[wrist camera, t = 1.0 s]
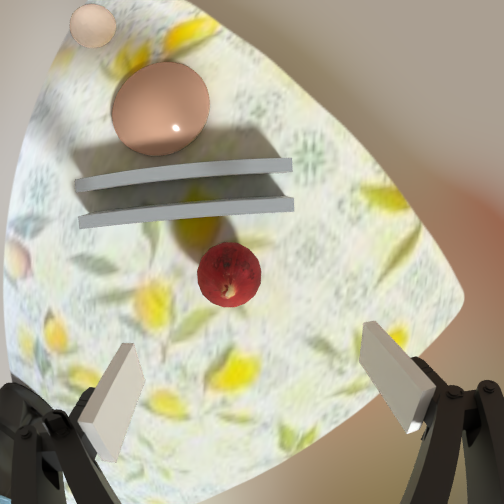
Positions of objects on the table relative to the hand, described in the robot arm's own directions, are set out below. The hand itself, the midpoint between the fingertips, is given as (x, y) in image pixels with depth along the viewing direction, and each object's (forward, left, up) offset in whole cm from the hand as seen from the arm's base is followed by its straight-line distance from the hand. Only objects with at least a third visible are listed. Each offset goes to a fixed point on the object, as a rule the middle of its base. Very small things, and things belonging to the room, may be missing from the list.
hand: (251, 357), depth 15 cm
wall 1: (-5, +7, -16) cm, 18 cm away
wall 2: (-5, +11, -16) cm, 19 cm away
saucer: (-7, +18, -16) cm, 25 cm away
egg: (-14, +28, -16) cm, 35 cm away
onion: (-1, +1, -16) cm, 16 cm away
